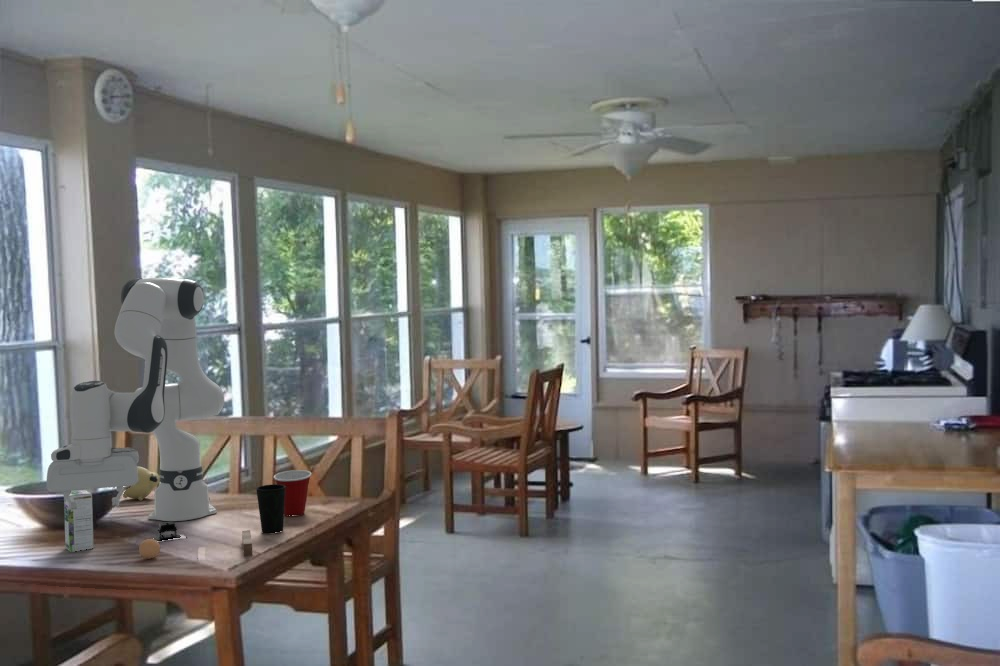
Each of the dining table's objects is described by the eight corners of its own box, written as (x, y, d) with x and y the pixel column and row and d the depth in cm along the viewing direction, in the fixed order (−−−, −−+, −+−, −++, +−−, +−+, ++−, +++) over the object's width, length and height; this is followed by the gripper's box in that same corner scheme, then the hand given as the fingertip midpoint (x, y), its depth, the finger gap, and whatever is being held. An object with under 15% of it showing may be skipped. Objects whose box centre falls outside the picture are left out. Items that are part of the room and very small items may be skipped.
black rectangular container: (144, 547, 242) (143, 529, 242) (140, 541, 248) (139, 524, 248) (194, 539, 248) (193, 522, 248) (189, 534, 254) (188, 517, 254)
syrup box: (64, 548, 240) (62, 492, 240) (89, 544, 244) (86, 489, 243) (70, 553, 236) (67, 495, 235) (95, 548, 239) (92, 492, 239)
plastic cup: (269, 519, 267) (267, 477, 267) (282, 510, 278) (280, 470, 277) (306, 519, 266) (304, 477, 265) (317, 510, 276) (316, 469, 276)
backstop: (242, 542, 242) (242, 530, 241) (250, 541, 242) (250, 530, 242) (243, 556, 228) (243, 544, 228) (252, 555, 229) (251, 543, 229)
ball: (140, 556, 230) (139, 537, 230) (160, 554, 232) (160, 535, 231) (138, 562, 226) (137, 542, 225) (159, 560, 227) (158, 540, 227)
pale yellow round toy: (158, 501, 295) (156, 467, 295) (117, 504, 293) (116, 470, 292) (162, 495, 305) (161, 462, 304) (123, 497, 302) (121, 464, 302)
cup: (279, 535, 248) (277, 490, 247) (252, 534, 250) (251, 489, 249) (291, 528, 255) (290, 484, 255) (265, 527, 257) (264, 484, 257)
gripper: (139, 444, 230) (141, 500, 230) (48, 450, 224) (50, 508, 224) (137, 448, 224) (139, 505, 224) (43, 454, 218) (46, 513, 218)
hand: (94, 507), depth 224 cm, fingers open, 8 cm apart
